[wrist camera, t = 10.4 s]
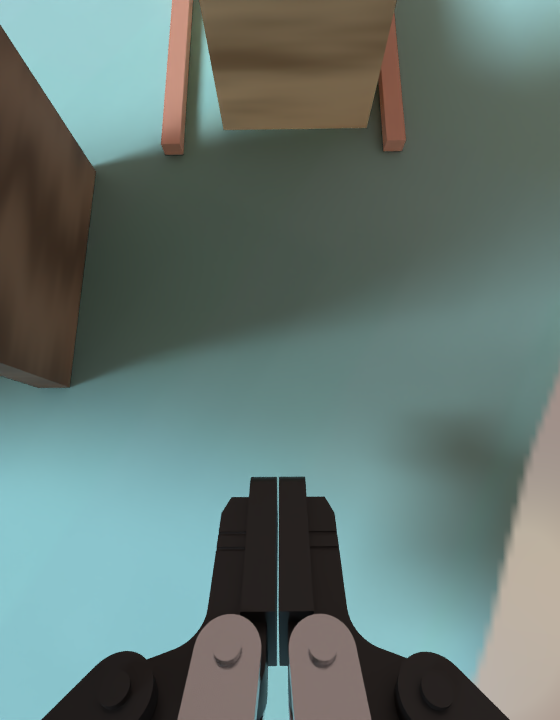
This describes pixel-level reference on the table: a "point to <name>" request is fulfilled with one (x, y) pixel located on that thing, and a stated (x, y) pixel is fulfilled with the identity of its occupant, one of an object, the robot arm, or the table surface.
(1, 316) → the wooden l-shaped stand
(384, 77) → the terracotta frame
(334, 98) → the oak block
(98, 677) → the robot arm
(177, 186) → the table surface
